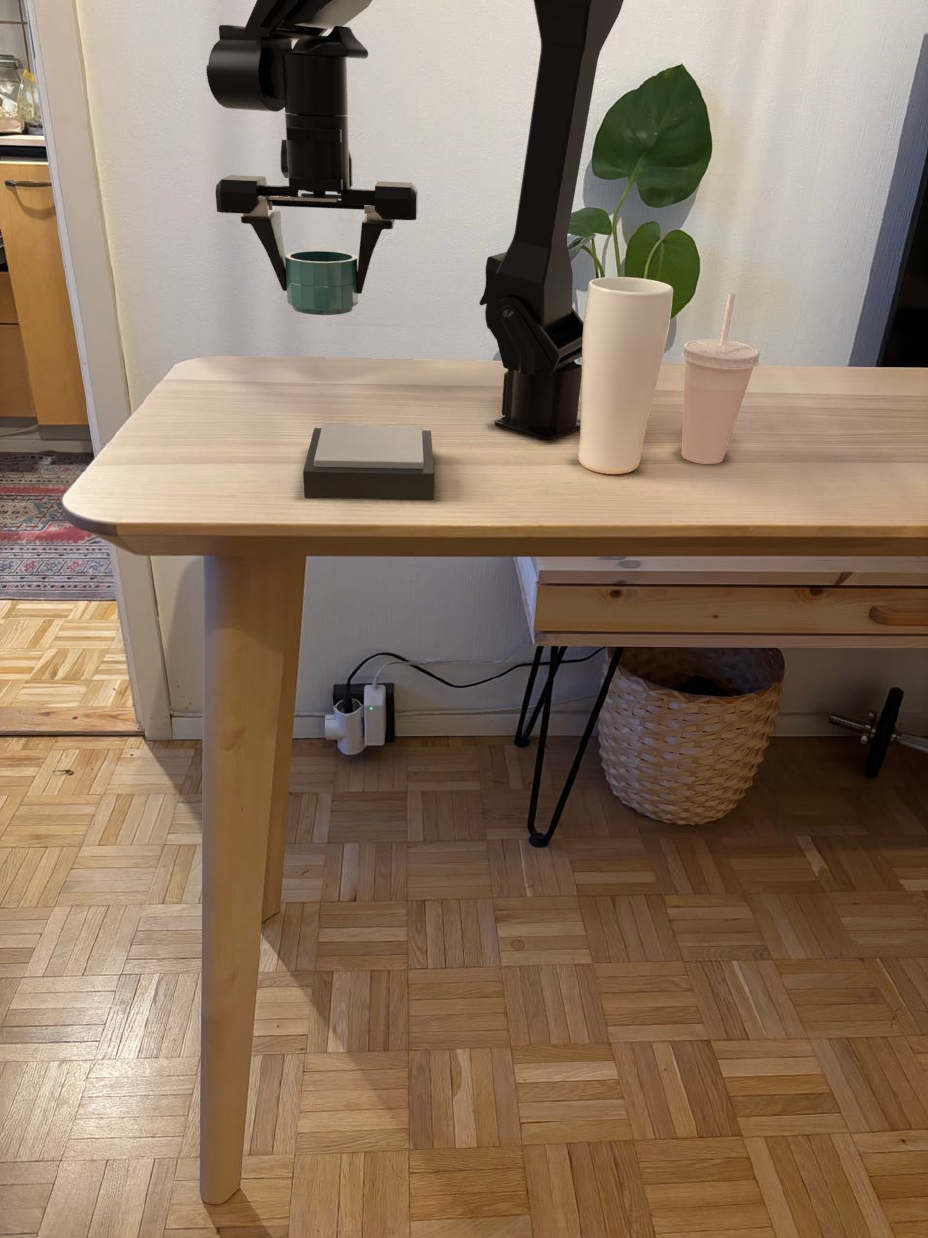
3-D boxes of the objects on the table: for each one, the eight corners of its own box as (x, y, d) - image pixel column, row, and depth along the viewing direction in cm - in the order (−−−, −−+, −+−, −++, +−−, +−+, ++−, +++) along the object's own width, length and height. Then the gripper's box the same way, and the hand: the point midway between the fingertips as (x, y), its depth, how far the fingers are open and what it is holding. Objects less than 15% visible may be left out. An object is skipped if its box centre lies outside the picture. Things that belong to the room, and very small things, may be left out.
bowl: (372, 309, 94) (371, 257, 92) (322, 319, 89) (320, 265, 87) (324, 298, 98) (322, 247, 95) (273, 307, 93) (270, 254, 90)
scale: (430, 454, 80) (431, 423, 79) (433, 499, 72) (434, 465, 70) (315, 452, 80) (313, 420, 78) (304, 497, 71) (302, 463, 70)
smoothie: (741, 450, 85) (773, 291, 78) (735, 474, 79) (769, 306, 72) (671, 440, 86) (696, 283, 79) (661, 462, 81) (687, 297, 74)
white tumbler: (644, 454, 83) (670, 279, 75) (650, 482, 77) (679, 295, 69) (569, 449, 83) (586, 274, 76) (569, 476, 77) (588, 290, 70)
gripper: (420, 116, 92) (417, 279, 100) (231, 107, 91) (244, 273, 99) (417, 120, 82) (415, 301, 90) (206, 111, 82) (223, 294, 90)
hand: (322, 291), depth 93 cm, fingers closed on bowl, 7 cm apart
